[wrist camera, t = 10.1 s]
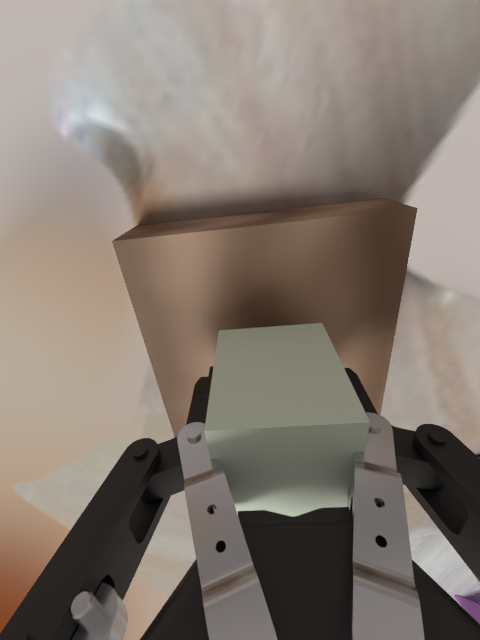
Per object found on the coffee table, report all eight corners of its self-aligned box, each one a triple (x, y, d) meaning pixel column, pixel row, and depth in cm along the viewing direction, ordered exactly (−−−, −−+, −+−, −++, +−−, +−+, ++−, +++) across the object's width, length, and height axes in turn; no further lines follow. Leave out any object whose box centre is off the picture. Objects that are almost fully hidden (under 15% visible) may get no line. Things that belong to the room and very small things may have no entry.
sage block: (322, 322, 14) (370, 422, 9) (318, 399, 16) (353, 514, 11) (218, 330, 14) (204, 431, 9) (229, 405, 17) (223, 519, 11)
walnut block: (380, 197, 16) (417, 208, 13) (357, 385, 23) (378, 426, 20) (138, 224, 17) (112, 241, 14) (185, 398, 24) (175, 439, 20)
